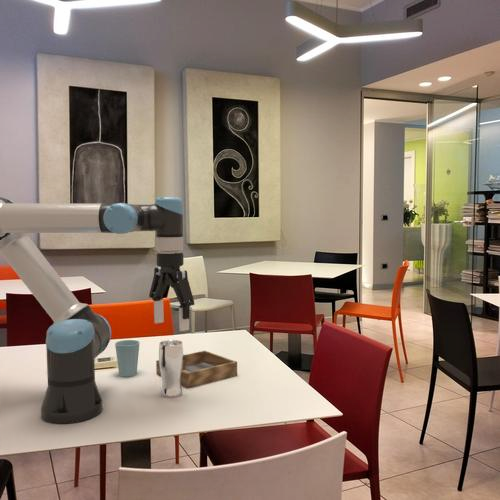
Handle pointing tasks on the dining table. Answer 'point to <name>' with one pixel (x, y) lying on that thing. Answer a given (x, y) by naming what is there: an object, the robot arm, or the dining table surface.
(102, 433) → the dining table surface
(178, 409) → the dining table surface
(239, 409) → the dining table surface
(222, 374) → the caddy
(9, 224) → the robot arm
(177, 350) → the shiny metal cylinder
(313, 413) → the dining table surface
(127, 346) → the cup
